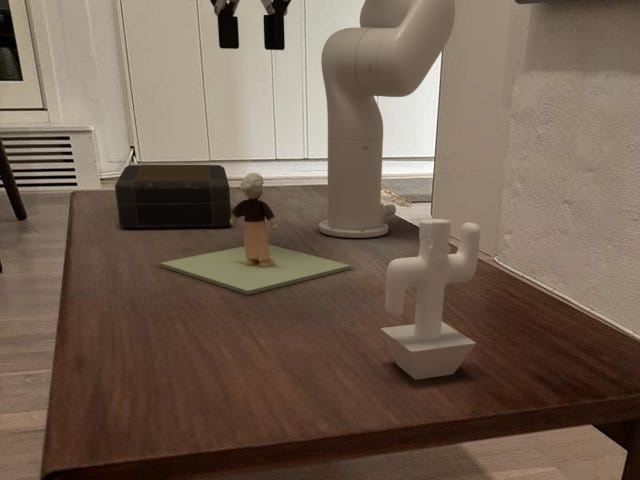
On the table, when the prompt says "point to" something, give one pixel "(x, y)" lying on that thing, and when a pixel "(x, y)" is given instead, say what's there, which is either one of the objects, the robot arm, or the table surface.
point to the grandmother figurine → (255, 221)
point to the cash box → (173, 197)
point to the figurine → (430, 300)
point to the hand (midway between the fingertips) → (251, 49)
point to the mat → (254, 269)
